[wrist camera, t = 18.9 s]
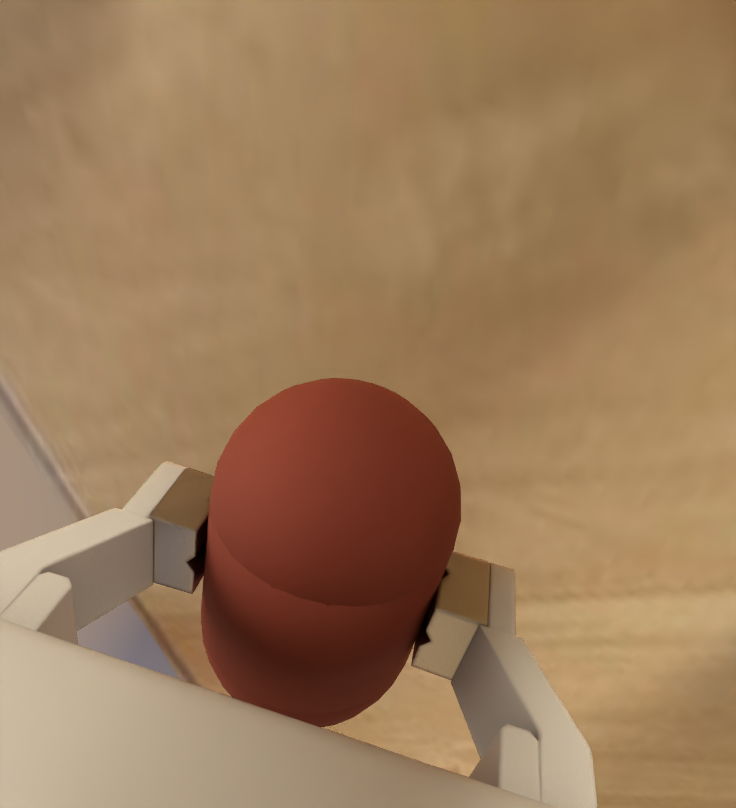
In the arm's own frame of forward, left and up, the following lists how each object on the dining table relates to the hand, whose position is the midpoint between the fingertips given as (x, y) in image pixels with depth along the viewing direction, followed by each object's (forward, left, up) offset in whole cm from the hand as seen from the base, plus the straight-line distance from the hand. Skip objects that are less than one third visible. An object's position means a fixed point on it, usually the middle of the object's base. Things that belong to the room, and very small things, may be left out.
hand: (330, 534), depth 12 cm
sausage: (0, 0, -2) cm, 2 cm away
